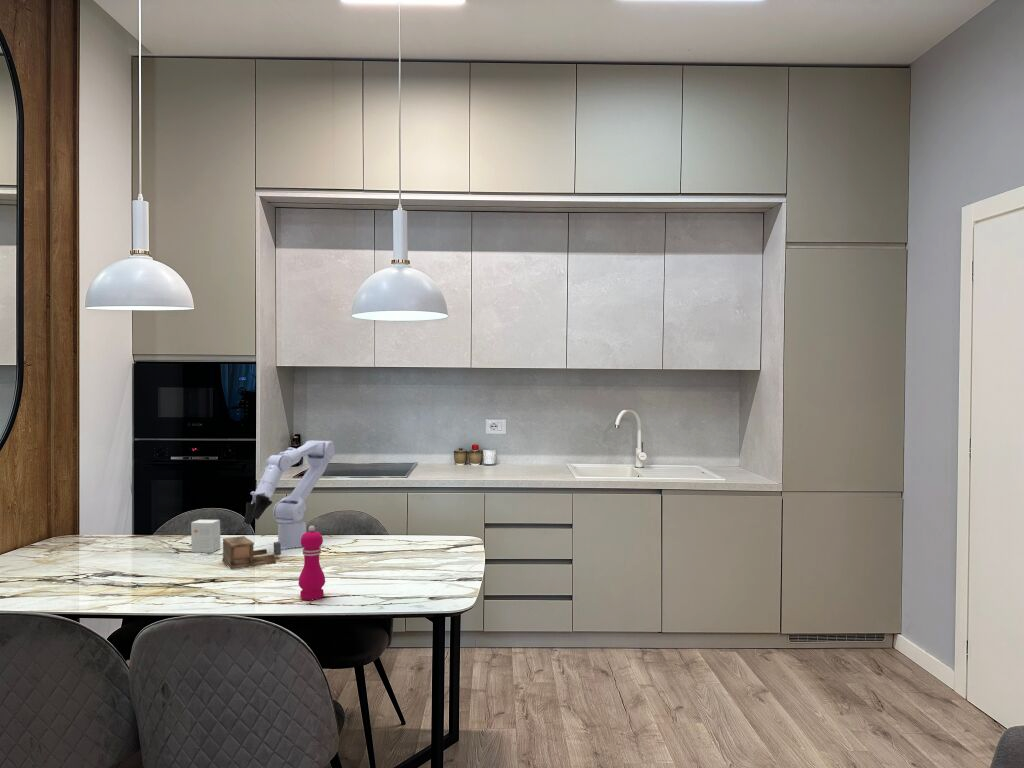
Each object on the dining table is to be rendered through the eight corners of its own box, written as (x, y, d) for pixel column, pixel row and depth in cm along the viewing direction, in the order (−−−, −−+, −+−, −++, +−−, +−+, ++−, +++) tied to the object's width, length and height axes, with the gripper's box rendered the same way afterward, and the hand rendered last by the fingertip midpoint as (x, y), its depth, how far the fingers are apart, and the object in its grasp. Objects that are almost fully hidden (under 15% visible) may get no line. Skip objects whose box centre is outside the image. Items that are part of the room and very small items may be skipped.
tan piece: (276, 552, 256) (276, 538, 256) (282, 556, 251) (282, 541, 251) (229, 559, 247) (229, 544, 247) (234, 563, 242) (234, 547, 242)
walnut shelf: (265, 555, 257) (264, 533, 257) (275, 563, 247) (275, 540, 247) (222, 561, 249) (222, 538, 249) (231, 569, 239) (231, 545, 239)
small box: (220, 549, 266) (220, 519, 266) (213, 553, 261) (212, 522, 261) (199, 548, 267) (199, 519, 267) (191, 552, 261) (190, 522, 261)
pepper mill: (301, 593, 213) (301, 523, 213) (327, 593, 213) (326, 522, 213) (296, 601, 206) (295, 528, 205) (323, 600, 206) (322, 528, 206)
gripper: (249, 485, 263) (232, 520, 255) (264, 474, 252) (247, 510, 245) (267, 494, 266) (251, 529, 258) (283, 484, 255) (266, 519, 247)
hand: (250, 520), depth 251 cm, fingers open, 7 cm apart
